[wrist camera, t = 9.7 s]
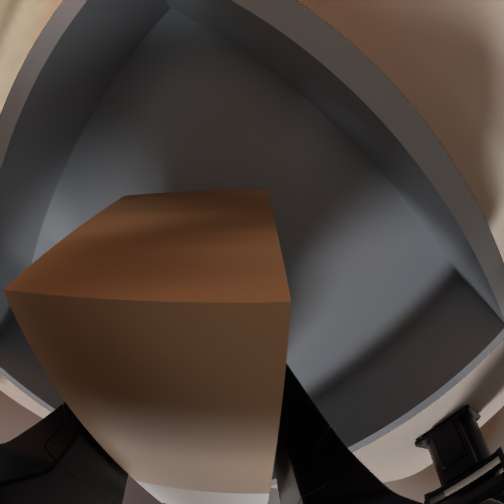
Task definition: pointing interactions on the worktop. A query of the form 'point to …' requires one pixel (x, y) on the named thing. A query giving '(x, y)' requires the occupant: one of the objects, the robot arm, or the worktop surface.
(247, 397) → the tan rectangular block
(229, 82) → the bin
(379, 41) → the worktop surface
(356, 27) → the worktop surface
